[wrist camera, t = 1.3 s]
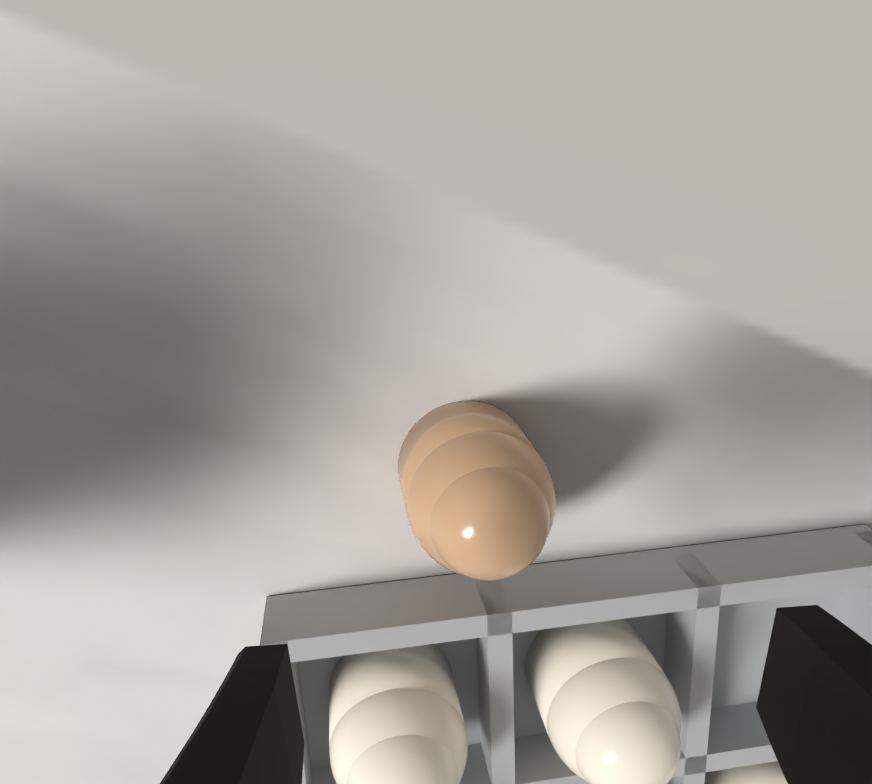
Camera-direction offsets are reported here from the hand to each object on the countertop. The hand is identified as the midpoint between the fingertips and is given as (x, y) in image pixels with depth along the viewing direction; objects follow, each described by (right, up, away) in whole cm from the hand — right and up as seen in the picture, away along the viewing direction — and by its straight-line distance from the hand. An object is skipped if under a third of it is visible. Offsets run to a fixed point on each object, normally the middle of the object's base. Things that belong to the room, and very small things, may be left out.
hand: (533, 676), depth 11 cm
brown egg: (-1, +2, +10) cm, 10 cm away
